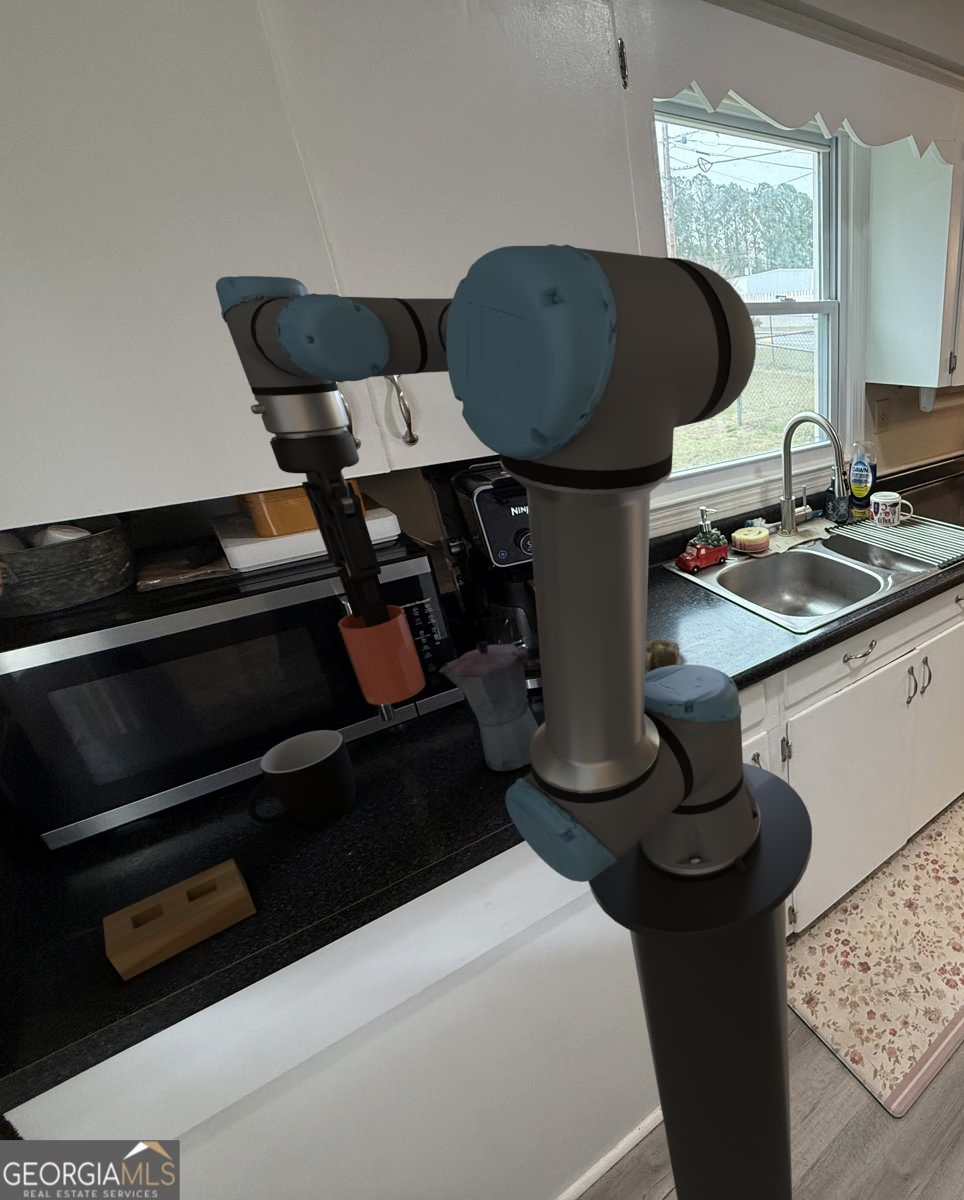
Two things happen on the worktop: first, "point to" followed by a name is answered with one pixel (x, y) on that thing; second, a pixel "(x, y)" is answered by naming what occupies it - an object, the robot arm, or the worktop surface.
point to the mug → (307, 778)
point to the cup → (383, 657)
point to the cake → (661, 654)
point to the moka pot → (498, 700)
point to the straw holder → (176, 919)
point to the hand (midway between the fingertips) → (372, 618)
